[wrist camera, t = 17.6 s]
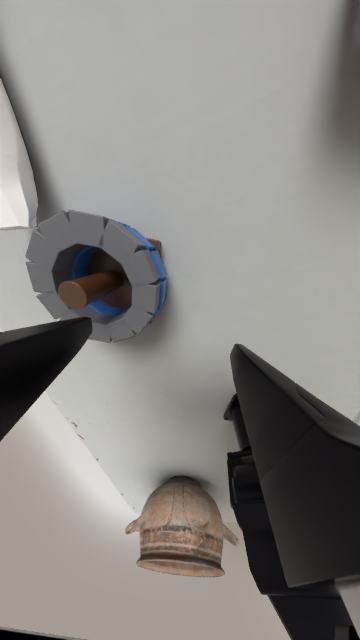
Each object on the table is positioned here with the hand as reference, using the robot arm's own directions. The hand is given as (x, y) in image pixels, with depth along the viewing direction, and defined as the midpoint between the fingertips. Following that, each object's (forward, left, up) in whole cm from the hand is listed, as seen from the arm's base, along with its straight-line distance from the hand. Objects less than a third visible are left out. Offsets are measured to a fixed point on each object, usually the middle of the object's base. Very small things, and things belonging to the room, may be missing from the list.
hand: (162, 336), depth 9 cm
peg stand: (+1, +7, -9) cm, 11 cm away
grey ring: (+1, +7, -6) cm, 9 cm away
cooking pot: (-51, -10, -9) cm, 53 cm away
